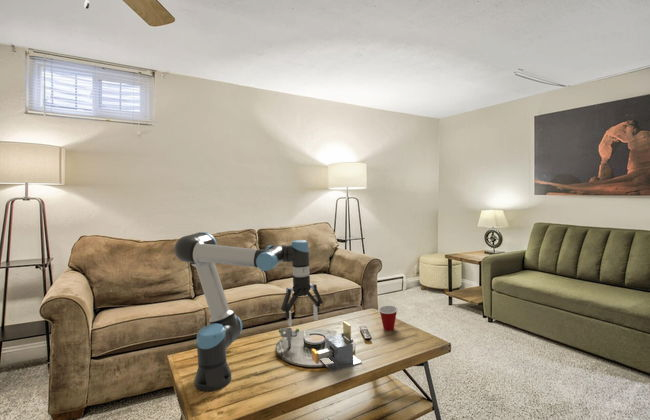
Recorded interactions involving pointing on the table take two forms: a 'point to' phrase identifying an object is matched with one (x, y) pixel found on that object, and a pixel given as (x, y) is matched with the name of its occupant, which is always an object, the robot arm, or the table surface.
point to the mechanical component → (288, 334)
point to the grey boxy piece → (341, 352)
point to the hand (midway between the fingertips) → (302, 322)
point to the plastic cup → (388, 317)
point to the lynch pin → (322, 354)
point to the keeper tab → (346, 330)
